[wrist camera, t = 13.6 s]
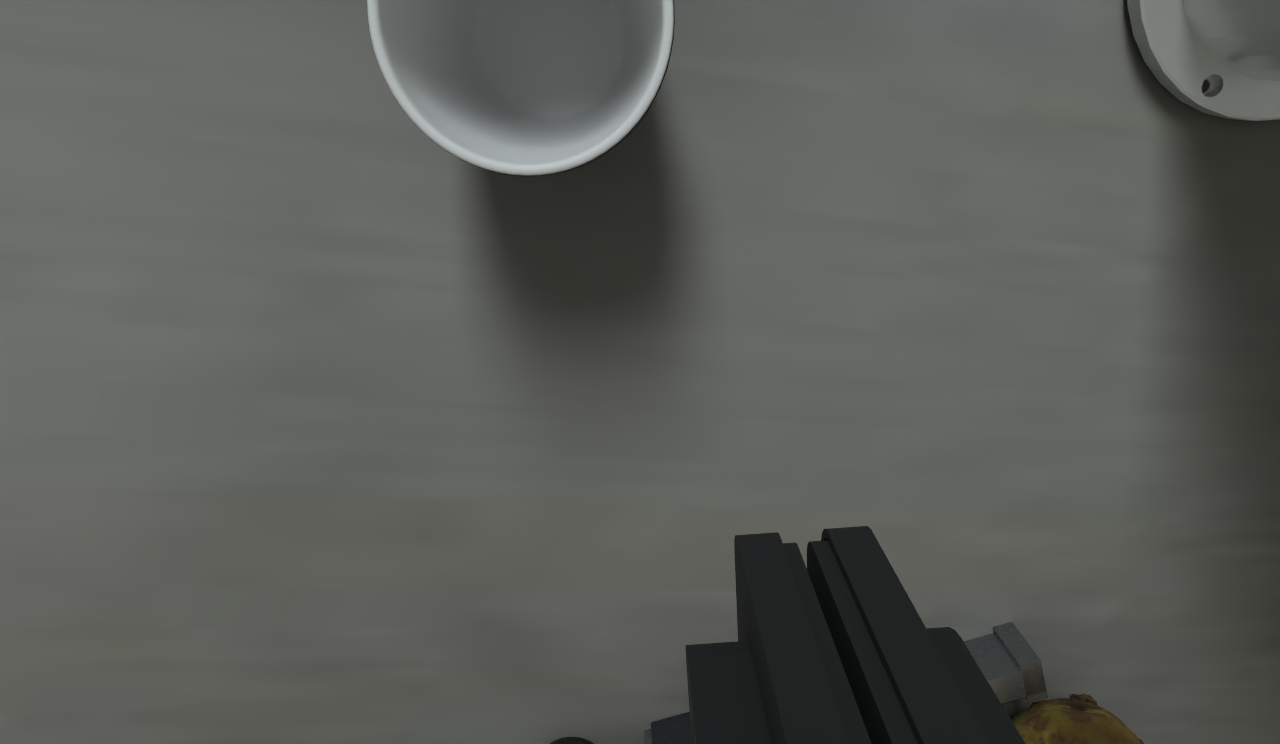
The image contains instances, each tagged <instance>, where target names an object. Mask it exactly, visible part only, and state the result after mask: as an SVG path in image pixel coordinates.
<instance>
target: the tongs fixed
mask: <svg viewBox="0 0 1280 744" xmlns="http://www.w3.org/2000/svg"><path fill="white" fill-rule="evenodd" d="M550 744H593V743H592V742H590V741H588V740H586V739H583V738H578V737H566V738H561V739H558V740H556V741H554V742H552V743H550Z"/></svg>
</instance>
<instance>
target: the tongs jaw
mask: <svg viewBox="0 0 1280 744" xmlns="http://www.w3.org/2000/svg"><path fill="white" fill-rule="evenodd" d="M994 632H995V634H992V635H988V636H984V637H981V638H977V639H974V640H970V641H966V642H964V643H965V645H966V647H967V648H968V650H969V652H970V653H971V655H972V657H973V658H974V660H975V661H976V663H977V665H978V666H979V668H980V670H981V671H982V673H983V675H984V676H985V678H986V679H987V681H988V683H989V684H990V686H991V688H992V689H993V691H994V693H995V694H996V696H997V697H998V699H999V701H1000V702H1001V704H1002V703H1006V702H1009V701H1013V700H1017V699H1020V698H1025V699H1026V701H1027V702H1028V703H1030V702H1033V701H1037V700H1041V699H1045V698H1048V696H1047V691H1046V686H1045V681H1044V676H1043V671H1042V666H1041V661H1040V659H1039V657H1038V656H1037V655H1036V653H1035V652H1034V651H1033V649H1032V648H1031V647H1030V645H1029V644H1028V643H1027V641H1026V640H1025V639H1024V637H1023V636H1022V635H1021V633H1020V632H1019V631H1018V629H1017V628H1016V627H1015V625H1014V624H1013V623H1008V624H1004V625H1001V626H997V627H994ZM645 744H692V733H691V720H690V712H688V713H684V714H681V715H677V716H674V717H670V718H666V719H663V720H659V721H656V722H652V723H651V729H649V730H645Z"/></svg>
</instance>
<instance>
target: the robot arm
mask: <svg viewBox="0 0 1280 744" xmlns="http://www.w3.org/2000/svg"><path fill="white" fill-rule="evenodd" d="M1127 6H1128V11H1129V17H1130V22H1131V27H1132V32H1133V36H1134V38H1135V41H1136V43H1137V45H1138V48H1139V50H1140V52H1141V55H1142V57H1143V60H1144V62H1145V63H1146V65H1147V66H1148V67H1149V69H1150V70H1151V72H1152V73H1153V74H1154V76H1155V77H1156V79H1157V80H1158V81H1159V83H1160V84H1161V85H1162V86H1164V87H1165V88H1166V89H1167V90H1168V91H1169V92H1170V93H1172V94H1173V95H1174V96H1175V97H1176V98H1177V99H1178V100H1180V101H1181V102H1183V103H1185V104H1187V105H1189V106H1191V107H1193V108H1195V109H1197V110H1199V111H1201V112H1203V113H1206V114H1210V115H1214V116H1218V117H1222V118H1226V119H1234V120H1250V121H1264V120H1279V119H1280V0H1127ZM735 572H736V596H737V621H738V642H726V643H711V644H697V645H686V663H687V678H688V693H689V707H690V720H691V733H692V744H1026V743H1025V742H1024V740H1023V738H1022V737H1021V735H1020V733H1019V732H1018V730H1017V729H1016V727H1015V725H1014V724H1013V722H1012V720H1011V719H1010V717H1009V715H1008V714H1007V712H1006V711H1005V709H1004V707H1003V706H1002V704H1001V702H1000V701H999V699H998V697H997V696H996V694H995V693H994V691H993V689H992V688H991V686H990V684H989V683H988V681H987V679H986V678H985V676H984V675H983V673H982V671H981V670H980V668H979V666H978V665H977V663H976V661H975V660H974V658H973V657H972V655H971V653H970V652H969V650H968V648H967V647H966V645H965V643H964V642H963V640H962V639H961V637H960V636H959V635H958V633H957V632H956V631H955V630H954V629H952V628H950V627H943V628H928V629H926V627H925V626H924V624H923V622H922V620H921V618H920V617H919V615H918V613H917V611H916V609H915V608H914V606H913V604H912V602H911V600H910V599H909V597H908V595H907V593H906V591H905V590H904V588H903V586H902V584H901V582H900V581H899V579H898V577H897V575H896V573H895V572H894V570H893V568H892V566H891V564H890V563H889V561H888V559H887V557H886V555H885V554H884V552H883V550H882V548H881V546H880V545H879V543H878V541H877V539H876V537H875V536H874V534H873V532H872V530H871V529H870V528H869V527H868V526H861V527H847V528H833V529H824V530H823V532H822V537H821V541H812V542H809V543H808V546H807V569H806V566H805V563H804V561H803V558H802V555H801V553H800V550H799V547H798V545H797V543H784V544H783V543H782V540H781V537H780V535H779V533H763V534H749V535H735Z"/></svg>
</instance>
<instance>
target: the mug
mask: <svg viewBox="0 0 1280 744" xmlns="http://www.w3.org/2000/svg"><path fill="white" fill-rule="evenodd" d="M367 9H368V22H369V29H370V35H371V40H372V44H373V49H374V52H375V55H376V58H377V61H378V64H379V67H380V69H381V72H382V74H383V76H384V79H385V81H386V83H387V85H388V86H389V88H390V90H391V92H392V94H393V95H394V97H395V99H396V100H397V102H398V103H399V105H400V106H401V108H402V109H403V110H404V112H405V113H406V114H407V115H408V117H409V118H410V119H411V120H412V121H413V122H414V124H415V125H416V126H417V127H418V128H419V129H420V130H421V131H422V132H423V133H424V134H426V135H427V136H428V137H429V138H430V139H431V140H432V141H434V142H435V143H436V144H438V145H439V146H440V147H442V148H443V149H444V150H446V151H447V152H449V153H451V154H452V155H454V156H456V157H457V158H459V159H461V160H463V161H465V162H468V163H470V164H472V165H474V166H477V167H480V168H483V169H485V170H489V171H493V172H497V173H501V174H507V175H514V176H543V175H550V174H556V173H560V172H564V171H568V170H571V169H574V168H577V167H580V166H583V165H585V164H587V163H589V162H591V161H593V160H595V159H597V158H598V157H600V156H602V155H603V154H605V153H607V152H608V151H610V150H611V149H612V148H613V147H615V146H616V145H617V144H619V143H620V142H621V141H622V140H623V139H624V138H625V137H626V136H627V135H628V134H630V132H631V131H632V130H633V129H634V128H635V127H636V126H637V125H638V123H639V122H640V121H641V119H642V118H643V117H644V115H645V114H646V113H647V111H648V110H649V108H650V106H651V104H652V103H653V101H654V99H655V98H656V95H657V93H658V91H659V89H660V87H661V85H662V82H663V79H664V77H665V74H666V71H667V68H668V64H669V60H670V56H671V50H672V44H673V37H674V23H675V20H674V0H367Z"/></svg>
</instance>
